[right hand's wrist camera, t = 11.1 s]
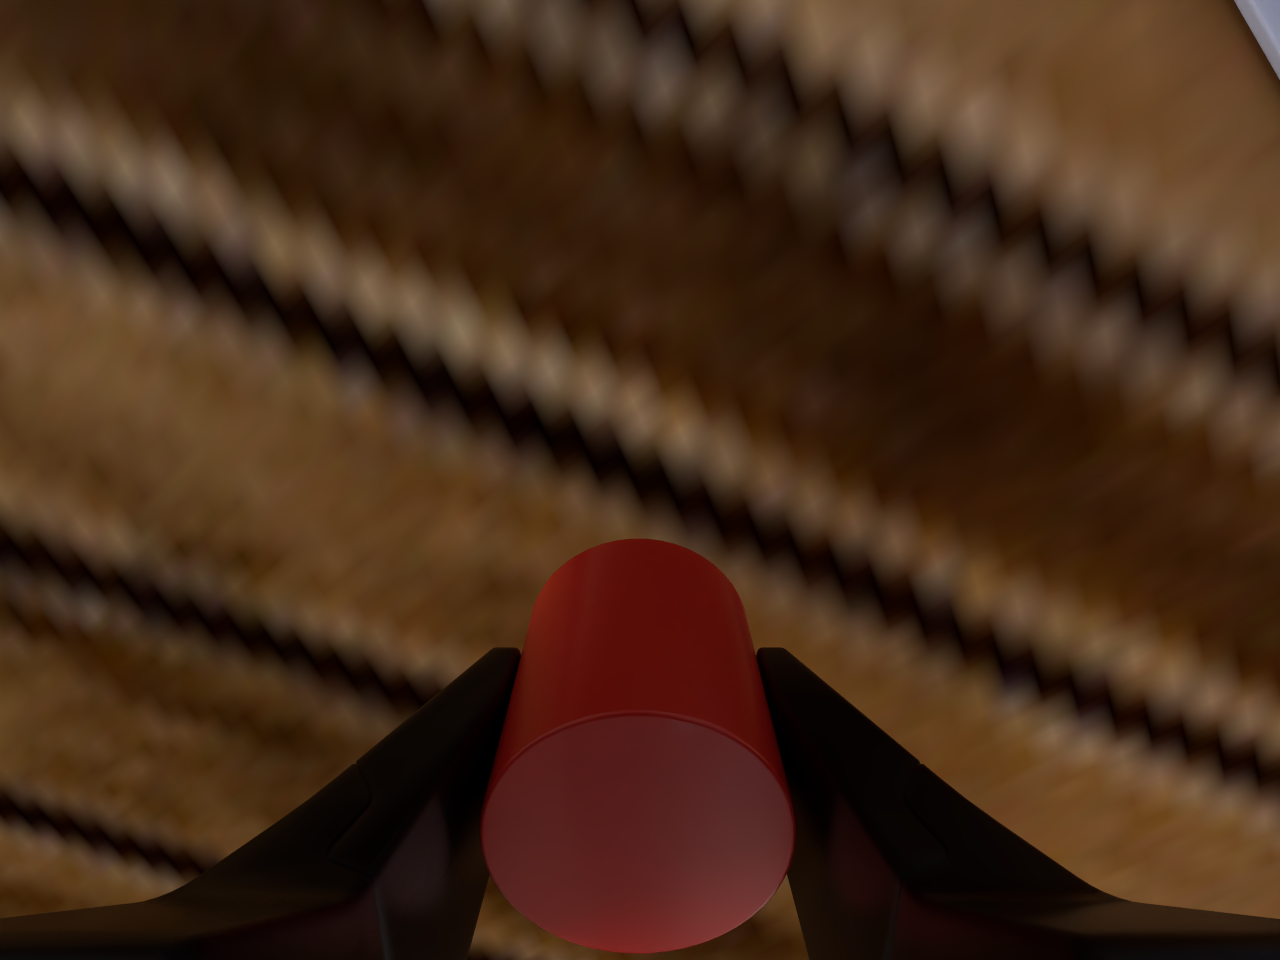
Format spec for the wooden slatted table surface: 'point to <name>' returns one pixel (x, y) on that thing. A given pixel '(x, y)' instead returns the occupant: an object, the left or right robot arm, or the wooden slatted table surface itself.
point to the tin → (638, 758)
